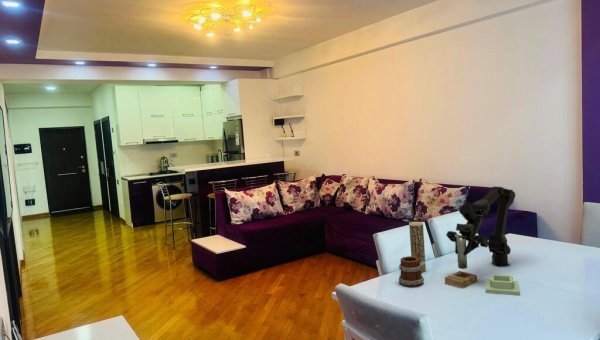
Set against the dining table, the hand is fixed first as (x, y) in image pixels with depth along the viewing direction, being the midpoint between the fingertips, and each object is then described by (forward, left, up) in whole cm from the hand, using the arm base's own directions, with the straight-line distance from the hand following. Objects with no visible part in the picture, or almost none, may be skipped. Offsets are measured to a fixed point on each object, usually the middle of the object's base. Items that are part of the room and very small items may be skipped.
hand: (460, 254), depth 189 cm
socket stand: (-13, +11, -13) cm, 22 cm away
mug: (+21, -7, -14) cm, 26 cm away
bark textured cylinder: (+13, -21, -14) cm, 28 cm away
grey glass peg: (-1, -1, -7) cm, 7 cm away
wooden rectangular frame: (0, 0, -13) cm, 13 cm away
